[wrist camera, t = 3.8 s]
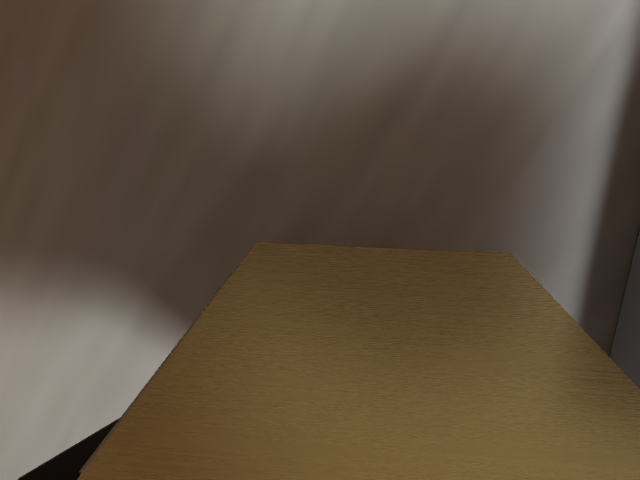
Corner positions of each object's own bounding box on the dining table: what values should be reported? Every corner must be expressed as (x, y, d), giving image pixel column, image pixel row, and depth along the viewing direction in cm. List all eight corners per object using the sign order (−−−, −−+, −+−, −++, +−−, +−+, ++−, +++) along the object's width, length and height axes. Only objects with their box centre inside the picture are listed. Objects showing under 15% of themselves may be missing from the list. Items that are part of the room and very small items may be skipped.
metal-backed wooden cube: (244, 443, 11) (81, 911, 5) (237, 240, 9) (-22, 529, 3) (497, 464, 10) (700, 1023, 4) (532, 255, 9) (939, 630, 3)
